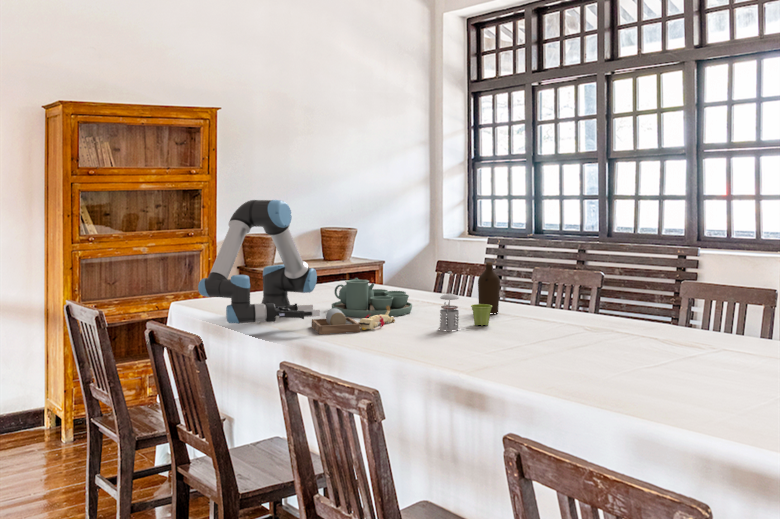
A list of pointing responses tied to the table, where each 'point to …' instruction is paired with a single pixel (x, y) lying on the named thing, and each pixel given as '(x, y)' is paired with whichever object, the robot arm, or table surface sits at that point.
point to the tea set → (370, 300)
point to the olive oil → (489, 288)
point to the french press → (449, 313)
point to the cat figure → (375, 320)
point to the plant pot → (481, 313)
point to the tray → (334, 326)
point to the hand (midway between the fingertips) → (316, 310)
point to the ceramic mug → (336, 317)
